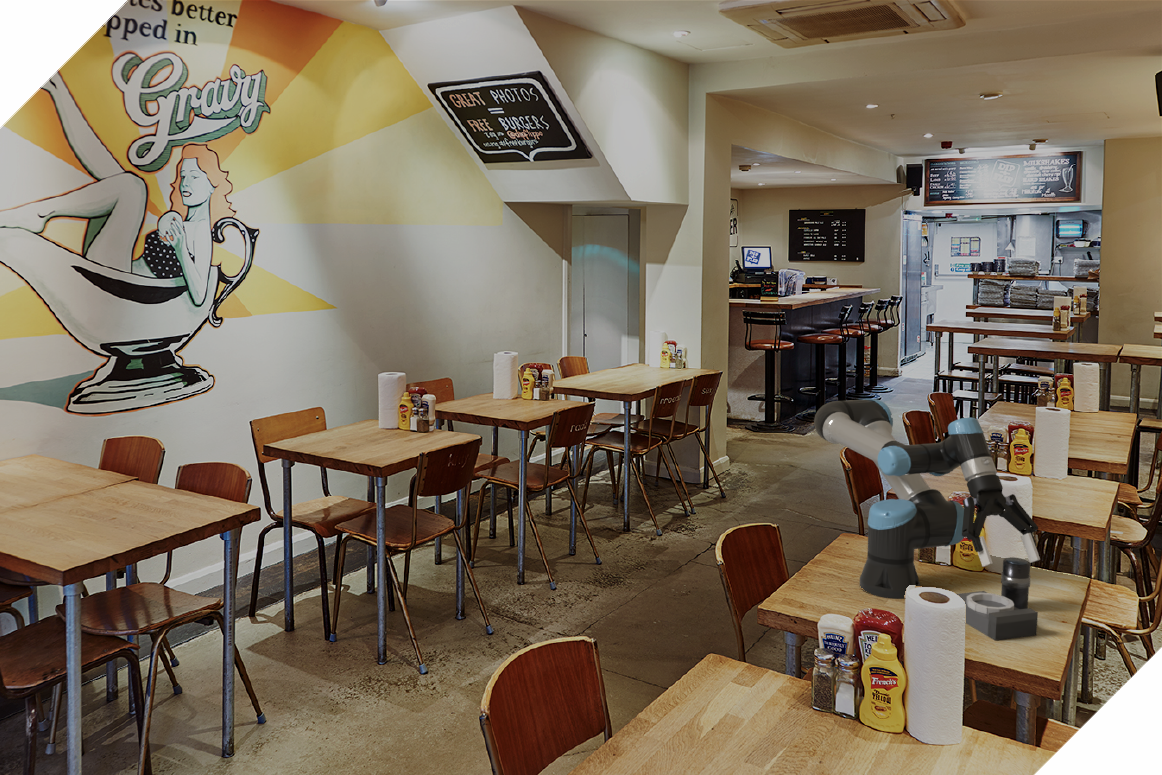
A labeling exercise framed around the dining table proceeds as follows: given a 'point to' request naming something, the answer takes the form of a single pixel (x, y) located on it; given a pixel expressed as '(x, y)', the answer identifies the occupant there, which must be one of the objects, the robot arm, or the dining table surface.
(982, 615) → the camera body
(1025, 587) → the lens
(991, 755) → the dining table surface
